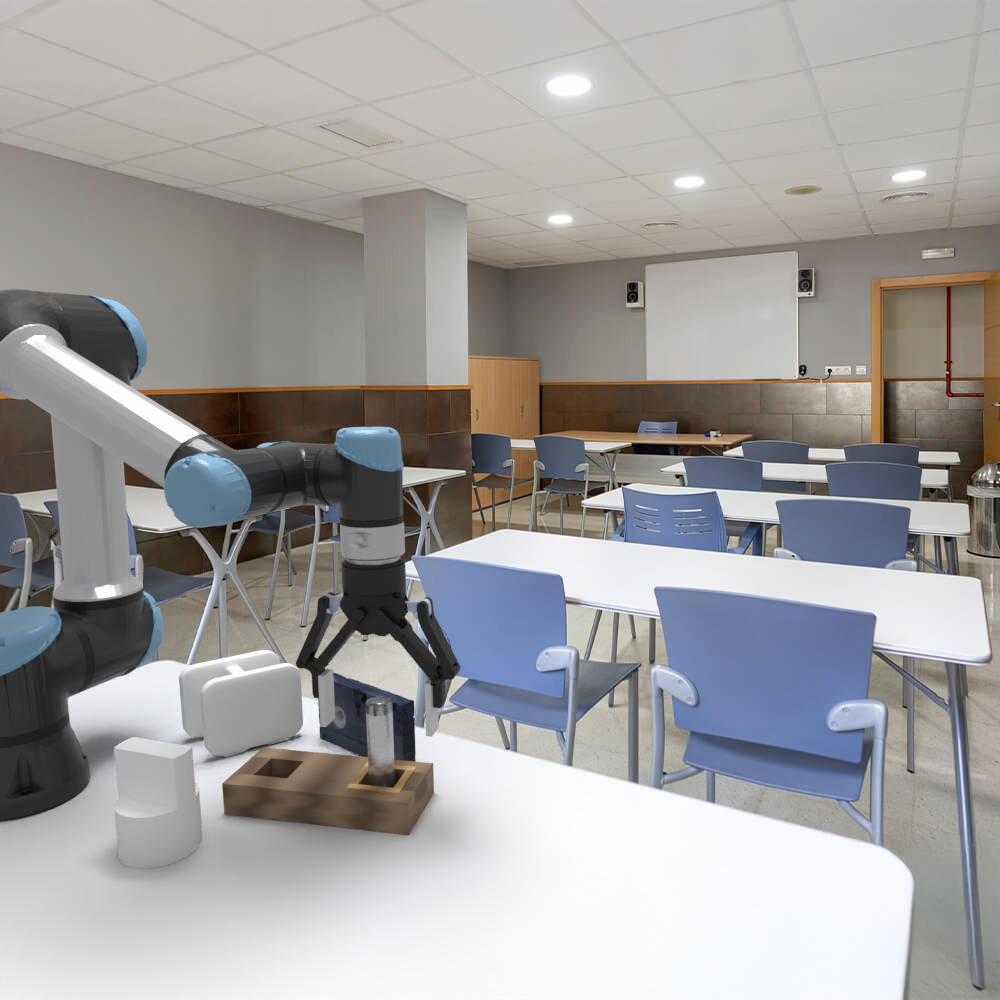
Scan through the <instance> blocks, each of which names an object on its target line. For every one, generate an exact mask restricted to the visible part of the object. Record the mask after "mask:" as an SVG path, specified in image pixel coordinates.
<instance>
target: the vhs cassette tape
mask: <svg viewBox="0 0 1000 1000" xmlns="http://www.w3.org/2000/svg"><path fill="white" fill-rule="evenodd" d="M333 678H334V700H335V719H334V720H333V721H332V722H331V723H330V724H329V725H328V726H327V727H320V726H319V738H320V740H323V741H324V742H327V743H330V744H332V745H335V746H337V747H339V748H341V749H344V750H346V751H348V752H351V753H352V754H355V755H356V756H361V757H368V748H367V724H366V701H367V700H368V699H370V698H373V697H388V698H391V699H392V711H393V739H394V760H404V761H415V762H417V760H416V759H417V758H416V755H417V753H416V751H417V750H416V731H415V730H416V724H415V721H416V720H415V717H414V716H415V700H413V699H409V698H406V697H405V696H402V695H399V694H397V693H392V692H391V691H387V690H384V689H381V688H379V687H376V686H374V685H372V684H371V685H370V684H368V683H365V682H361V681H359V680H356V679H354V678H349V677H345V676H344V675H342V674H339V673H336V672H334V671H333ZM317 699H318V702H317V703H318V704H317V705H318V721H319V722H318V723H319V724H320V706H319V698H317Z"/></svg>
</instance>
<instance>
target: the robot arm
mask: <svg viewBox="0 0 1000 1000" xmlns="http://www.w3.org/2000/svg"><path fill="white" fill-rule="evenodd" d="M147 360H148V342H147V339H146V334H145V332H144V329H143V327H142V325H141V324H140V322H139V319H137V317H136V316H135V315H134V314H132V312H131V311H130V309H129V308H127V307H126V306H125V305H124V304H122V303H120V302H118V301H115V300H113V299H108V298H103V297H100V296H96V295H87V294H73V293H61V292H49V291H38V290H30V289H23V288H9V289H2V290H0V393H1V394H3V395H5V396H6V397H8V398H10V399H15V400H19V401H20V400H21V401H22V400H28V401H29V402H31V403H33V404H35V406H38V407H39V408H40V409H42V410H44V411H46V413H48V414H49V415H50V420H51V431H52V432H51V433H52V444H53V445H52V446H53V447H52V449H53V458H54V471H55V472H54V473H55V484H56V497H57V506H58V507H57V510H58V520H59V521H58V524H59V536H60V537H59V538H60V547H61V548H60V549H61V558H62V559H61V561H62V562H61V563H62V572H63V580H62V582H60V584H58V586H57V587H56V588H55V589H54V590H53V591H52V604H53V605H52V606H53V608H52V607H49V606H42V605H39V606H34V605H33V606H25V607H19V608H17V609H14V610H10V609H9V610H6V611H2V612H0V821H5V820H10V819H17V818H22V817H26V816H30V815H34V814H37V813H41V812H43V811H46V810H49V809H51V808H54V807H57V806H59V805H60V804H62V803H65V802H66V801H68V800H71V798H73V797H75V796H76V795H78V794H79V793H80V792H81V791H82V790H84V788H85V787H86V786H87V785H88V783H89V782H90V779H91V770H90V762H89V758H88V756H87V754H86V753H85V752H84V751H83V750H82V747H81V744H80V742H79V740H78V738H77V735H76V733H75V731H74V729H73V728H72V725H71V720H70V719H71V718H70V711H69V700H68V699H70V698H71V697H73V696H76V695H78V694H80V693H82V692H84V691H87V690H89V689H92V688H94V687H97V686H100V685H101V684H104V683H106V682H109V681H112V680H115V679H117V678H119V677H125V676H126V675H129V674H130V673H132V672H134V671H135V670H136V669H138V668H141V667H142V666H144V665H145V664H148V663H149V662H150V661H151V660H152V659H153V657H155V656H156V654H157V652H158V651H159V649H160V646H161V645H162V641H163V638H164V628H165V627H164V617H163V614H162V610H161V608H160V607H159V606H156V603H157V601H156V600H155V598H154V597H153V596H152V595H151V594H150V593H148V592H146V591H145V590H144V584H143V582H142V581H141V580H139V579H138V578H137V577H135V576H134V575H133V573H132V572H131V556H130V543H129V542H130V541H129V540H130V539H129V527H128V526H129V525H128V524H129V523H128V522H129V521H128V511H127V494H126V493H127V491H126V479H125V465H124V463H125V464H126V465H128V466H130V467H131V468H133V469H134V470H136V471H138V472H139V473H141V474H142V475H144V477H147V478H148V479H150V480H152V481H153V482H154V483H156V484H157V485H159V486H160V487H162V488H163V489H164V490H163V491H164V492H163V494H164V498H165V501H166V504H167V507H169V508H170V509H171V510H172V512H173V516H174V518H176V519H177V520H178V521H179V522H181V523H182V524H184V525H186V526H189V527H193V528H196V529H197V528H198V529H202V528H208V527H223V526H226V525H229V524H233V523H236V522H239V521H243V520H246V519H250V518H254V517H258V516H262V515H264V514H270V513H275V512H279V511H283V510H286V509H287V510H288V509H291V508H295V507H300V506H320V507H321V506H322V507H323V506H324V507H325V506H327V507H338V516H339V528H340V529H339V530H340V531H339V534H340V555H341V556H342V557H343V558H344V560H343V561H342V563H341V584H342V585H341V586H342V587H341V588H342V592H343V594H342V596H338V595H335V593H334V592H332V591H329V592H327V593H325V594H324V595H322V596H320V597H319V598H318V599H317V607H316V615H315V618H314V620H313V623H312V624H311V627H310V629H309V631H308V634H307V636H306V638H305V641H304V643H303V645H302V648H301V649H300V652H299V654H298V657H297V659H296V661H295V665H296V666H295V667H296V668H298V669H299V670H300V669H305V670H307V671H309V673H310V674H311V688H312V690H311V691H312V696H313V698H314V699H318V698H319V705H318V707H319V706H320V723H319V728H320V727H327V726H328V725H329V724H330V723H331V722H332V721H333V720H334V719H335V700H334V678H333V672H334V669H333V668H326V667H327V666H329V665H330V663H331V661H332V660H333V659H335V656H336V655H337V654H339V651H341V649H342V648H343V647H344V646H345V645H346V643H347V642H348V641H349V640H350V638H351V637H352V636H353V635H354V633H355V632H356V631H357V633H360V635H361V636H370V635H375V636H379V637H386V636H389V635H390V636H391V637H392V639H393V640H394V641H396V642H398V643H399V644H400V645H401V646H402V648H403V649H404V651H406V653H408V655H409V656H410V657H411V658H412V659H413V661H414V662H415V663H416V664H417V666H418V667H419V669H421V671H422V672H423V673H424V675H425V676H426V677H427V678H428V680H426V682H425V683H424V700H425V701H424V703H425V705H424V706H425V707H424V709H425V713H424V714H425V736H426V737H429V738H431V737H433V736H434V735H435V733H436V732H437V730H439V725H440V723H439V722H440V719H439V709H442V708H443V706H444V705H445V702H446V699H447V698H446V697H447V696H446V681H448V680H450V681H451V680H454V679H455V678H456V676H457V675H458V674H459V672H460V670H461V665H460V663H459V661H458V659H457V657H456V655H455V653H454V650H453V649H452V648H451V645H450V643H449V641H448V640H447V637H446V635H445V633H444V631H443V630H442V629H443V628H442V627H441V626H440V624H439V621H438V620H437V617H436V616H435V611H434V602H433V599H432V598H431V597H429V596H425V597H424V598H422V599H418V600H417V599H416V600H409V598H408V596H407V581H406V580H407V577H406V573H407V571H406V560H405V559H404V558H403V556H404V554H405V553H406V542H405V540H406V539H405V538H406V537H405V521H404V520H405V519H404V496H403V495H404V492H403V491H404V490H403V489H404V487H403V486H404V485H403V479H404V478H403V477H404V476H403V475H404V474H403V470H404V461H403V453H402V443H401V442H402V441H401V436H400V433H399V432H398V431H397V430H396V429H394V427H389V426H352V427H342V428H340V429H339V430H337V432H336V435H335V442H334V443H313V442H312V443H309V442H292V441H288V440H282V441H274V442H264V443H261V444H259V445H257V446H256V447H254V448H248V449H238V450H237V449H234V448H232V447H230V446H228V445H227V444H224V443H223V442H221V441H220V440H218V439H216V438H214V437H213V436H212V435H210V434H208V433H206V432H204V431H203V430H201V429H200V428H199V427H196V426H195V425H193V424H192V423H190V422H189V421H187V420H185V419H184V418H183V417H181V416H179V415H177V414H176V413H174V412H172V411H171V410H170V409H168V408H166V407H164V406H163V405H161V404H159V402H156V401H155V400H153V399H152V398H150V397H148V396H147V395H145V394H144V393H142V392H140V391H138V390H137V389H135V388H134V387H132V386H131V382H132V381H134V380H135V379H137V378H138V377H139V376H140V375H142V372H143V370H142V369H143V368H144V367H146V364H147ZM402 555H403V556H402ZM339 608H340V609H341V612H342V613H343V614H344V616H345V617H346V618H347V620H346V621H345V623H344V624H343V626H342V627H341V628H340V630H338V632H337V634H336V635H335V636H334V638H333V639H332V640H331V641H330V642H329V644H328V645H327V646H326V647H325V648H324V649H323V651H322V652H321V653H320V654H319V656H318V657H316V655H317V654H316V653H317V651H318V650H319V648H320V646H321V643H322V641H323V639H324V636H325V634H326V632H327V630H328V628H329V625H330V622H331V621H332V618H333V617H334V616H333V615H334V614H335V613H336V612H338V611H339ZM409 612H411V613H412V615H413V618H415V619H416V620H418V623H419V624H418V625H419V626H420V629H421V631H422V632H423V634H424V636H425V639H426V641H427V642H428V644H429V646H430V648H431V649H429V647H427V645H426V644H425V643H424V642H423V640H422V639H421V638H420V637H419V636H418V635H417V633H416V631H415V630H414V629H413V626H412V624H411V623H410V621H408V619H407V618H406V616H407V614H408V613H409ZM431 650H432V651H431Z"/></svg>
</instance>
